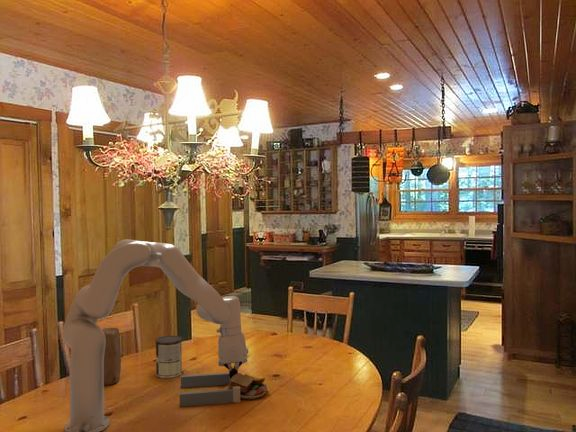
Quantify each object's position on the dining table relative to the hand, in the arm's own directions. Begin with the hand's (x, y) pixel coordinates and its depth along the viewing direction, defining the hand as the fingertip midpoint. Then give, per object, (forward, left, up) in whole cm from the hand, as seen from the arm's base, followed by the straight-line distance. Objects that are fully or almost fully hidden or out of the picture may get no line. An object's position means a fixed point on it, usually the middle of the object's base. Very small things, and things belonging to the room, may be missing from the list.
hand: (233, 379), depth 182 cm
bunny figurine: (+42, -5, -4) cm, 43 cm away
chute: (-4, +9, -3) cm, 10 cm away
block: (+17, +46, -3) cm, 49 cm away
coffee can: (+21, +24, -4) cm, 32 cm away
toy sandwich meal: (-7, -4, -3) cm, 8 cm away
